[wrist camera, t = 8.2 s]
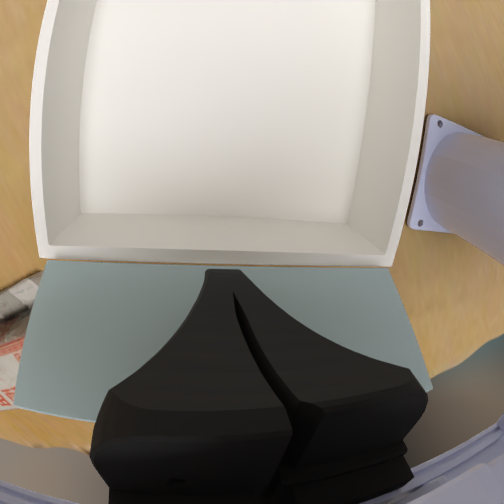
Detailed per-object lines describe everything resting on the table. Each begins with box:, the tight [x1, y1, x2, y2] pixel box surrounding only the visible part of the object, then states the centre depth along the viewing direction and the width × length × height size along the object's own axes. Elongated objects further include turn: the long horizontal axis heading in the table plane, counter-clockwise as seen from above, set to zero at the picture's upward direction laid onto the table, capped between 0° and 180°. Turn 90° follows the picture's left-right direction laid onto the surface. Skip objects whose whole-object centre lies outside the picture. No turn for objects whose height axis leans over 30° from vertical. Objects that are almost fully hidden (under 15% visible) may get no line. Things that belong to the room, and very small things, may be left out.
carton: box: [29, 0, 430, 266], centre depth 11 cm, size 16×21×5 cm
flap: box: [13, 260, 433, 422], centre depth 10 cm, size 15×6×1 cm
